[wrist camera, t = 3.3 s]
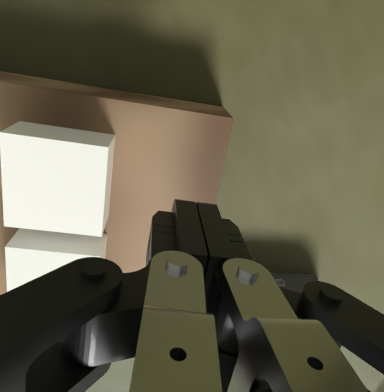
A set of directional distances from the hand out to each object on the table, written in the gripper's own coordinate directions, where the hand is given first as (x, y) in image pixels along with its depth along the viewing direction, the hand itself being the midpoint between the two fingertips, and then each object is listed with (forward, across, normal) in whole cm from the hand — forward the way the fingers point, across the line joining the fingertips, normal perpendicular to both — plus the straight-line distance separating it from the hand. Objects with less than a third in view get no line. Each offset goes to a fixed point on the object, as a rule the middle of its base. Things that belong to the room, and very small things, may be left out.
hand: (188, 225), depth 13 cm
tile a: (+4, +5, 0) cm, 7 cm away
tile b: (+4, +5, +5) cm, 9 cm away
